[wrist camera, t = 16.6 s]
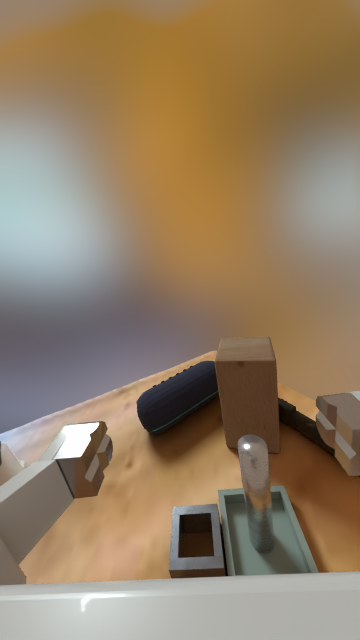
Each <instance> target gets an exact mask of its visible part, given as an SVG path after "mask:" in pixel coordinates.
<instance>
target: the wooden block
mask: <svg viewBox="0 0 360 640" xmlns="http://www.w3.org/2000/svg"><path fill="white" fill-rule="evenodd" d="M215 368H216V375H217V382H218V389H219V396H220V403H221V410H222V417H223V424H224V431H225V438H226V445H227V447H229V448H236V449H238V441H239V439H240V438H241V437H243V436H245V435H250V434H251V435H256V436H259V437H260V438H262V439H263V440H264V441H265V442H266V444H267V448H268V452H269V453H277V454H278V453H280V432H279V411H278V390H277V369H276V359H275V355H274V351H273V347H272V344H271V340H270V337H247V338H224V339H221V341H220V344H219V347H218V351H217V355H216V359H215Z"/></svg>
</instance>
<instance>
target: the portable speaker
mask: <svg viewBox="0 0 360 640" xmlns="http://www.w3.org/2000/svg"><path fill="white" fill-rule="evenodd" d="M218 395H219V389H218V382H217V375H216V368H215V362H214V361H204V362H200V363H198V364H196V365H194V366H190V368H189V369H187V370H186V369H185V370H183V372H181V373H177V374H176V375H175V376H174V377H169V379H168V380H166V381H162V382H161V383H160V384H158V385H157V386H156V385H154V386H153V388H151V389H149V390H147V391H145V392H144V393H143V394H142V395H141V396H140V397H139V399H138V400H137V413H138V417H139V419H140V421H141V424H142V425H143V427H144V429H146V430H147V431H148V432H150V434H151V435H158V434H160V433H162V432H164V431H166V430H168V429H169V428H170V427H172V426H173V425H175V424H176V423H178V422H179V421H181V420H182V419H184V418H185V417H187V416H188V415H190V414H191V413H193V412H194V411H196V410H197V409H199V408H200V407H202V406H203V405H205V404H206V403H208V402H209V401H211V400H212V399H214V398H215V397H217V396H218Z"/></svg>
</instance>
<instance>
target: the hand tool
mask: <svg viewBox="0 0 360 640" xmlns="http://www.w3.org/2000/svg"><path fill="white" fill-rule="evenodd" d="M278 411H279V419H280V420H281V421H282V422H283V423H284V424H285V425H287V426H292V427H294V428H295V429H297V430H298V431H299V432H301V433H302V434H304V435H305V436H306V437H307V438H309V439H311V440H313V441H314V442H316V443H317V444H319V445H320V446H322V447H323V448H324V449H325V450H327V451H328V452H329V453H331V454H333V455H335V449H333V448H332V447H330V446H328V445H327V444H326V443H325V442H324V440H323V439H322V438H321V436H320V434H319V432H318V428H317V425H316V422H315V421H314V420H312V419H310V418H308V417H307V416H305V415H303V414H301V413H300V412H299V411H296V407H295V406H293V405H292V404H290V403H288V402H287V401H284V400H283V399H280V398H278ZM359 477H360V475H359Z"/></svg>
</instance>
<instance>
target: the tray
mask: <svg viewBox="0 0 360 640" xmlns="http://www.w3.org/2000/svg"><path fill="white" fill-rule="evenodd" d="M270 488H271V501H272V515H273V528H274V542H275V543H274V548H273V550H272V551H271V552H269V553H267V554H264V553H260V552H258V551H257V550H256V549H255V548H254V547H253V545H252V544H251V542H250V538H249V531H248V523H247V515H246V508H245V500H244V492H243V488H240V489H227V490H218V495H219V503H220V511H221V520H222V528H223V536H224V545H225V553H226V561H227V570H228V576H252V575H278V574H305V573H319V571H318V569H317V566H316V564H315V562H314V559H313V557H312V554H311V552H310V549H309V547H308V544H307V542H306V539H305V537H304V534H303V532H302V530H301V527H300V525H299V522H298V520H297V517H296V515H295V512H294V510H293V507H292V505H291V502H290V500H289V498H288V495H287V493H286V490H285V488H284V485H278V486H270Z"/></svg>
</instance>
